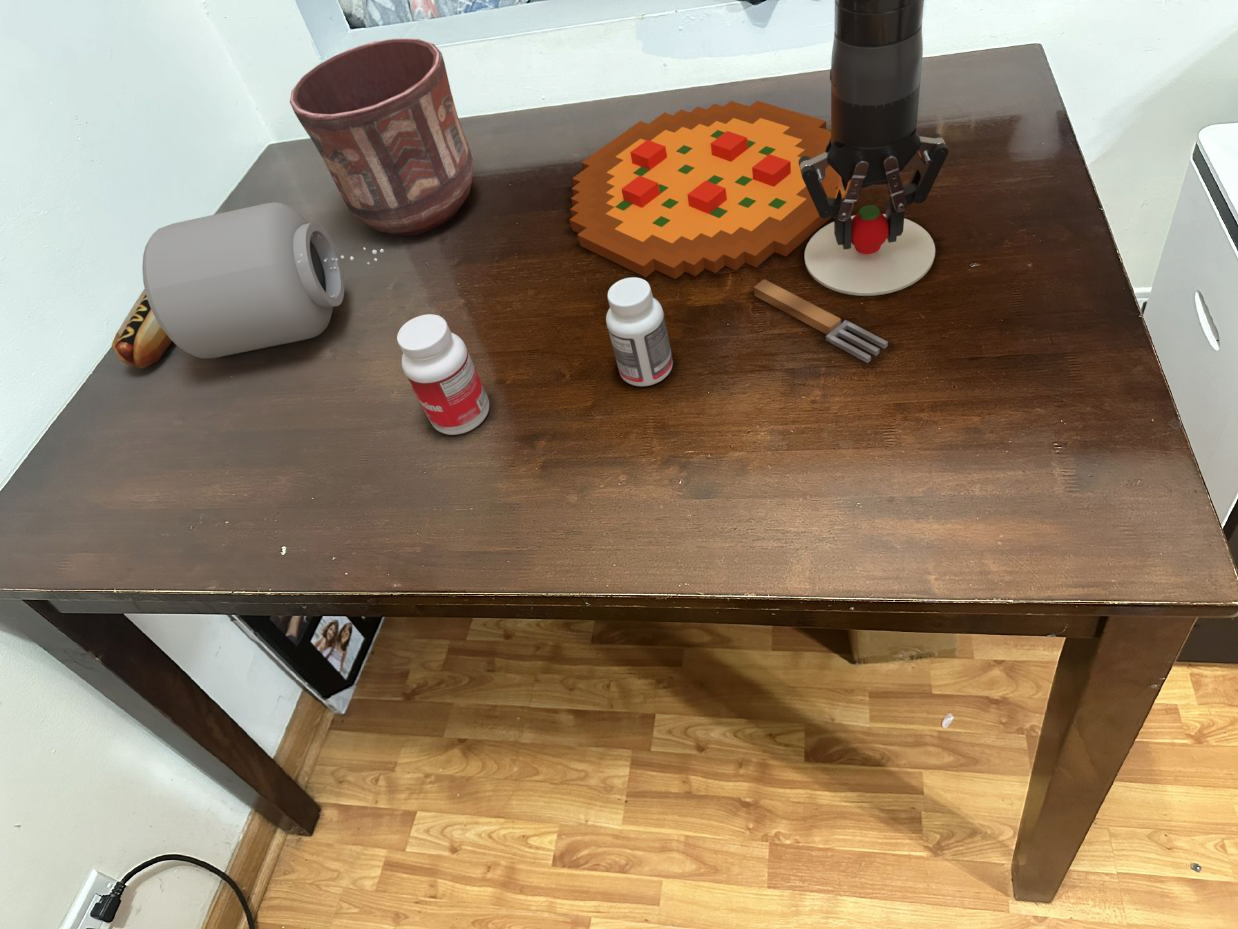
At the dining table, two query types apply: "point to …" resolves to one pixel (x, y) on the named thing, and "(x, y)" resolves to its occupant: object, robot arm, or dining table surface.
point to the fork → (820, 320)
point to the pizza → (702, 190)
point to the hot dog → (140, 336)
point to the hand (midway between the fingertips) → (868, 240)
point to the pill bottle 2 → (638, 333)
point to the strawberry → (869, 230)
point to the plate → (870, 262)
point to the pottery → (388, 134)
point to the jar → (242, 280)
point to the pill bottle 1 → (442, 375)
